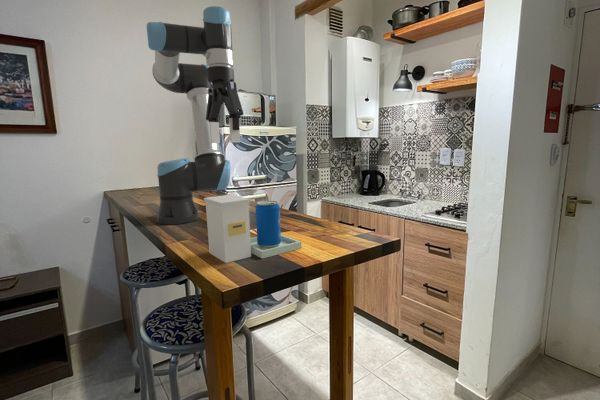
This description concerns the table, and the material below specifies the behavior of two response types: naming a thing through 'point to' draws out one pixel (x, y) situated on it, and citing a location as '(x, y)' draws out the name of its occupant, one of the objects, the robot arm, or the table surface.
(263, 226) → the beverage can
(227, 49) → the robot arm
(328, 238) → the table surface
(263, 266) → the table surface
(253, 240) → the tray
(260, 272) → the table surface
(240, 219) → the block
